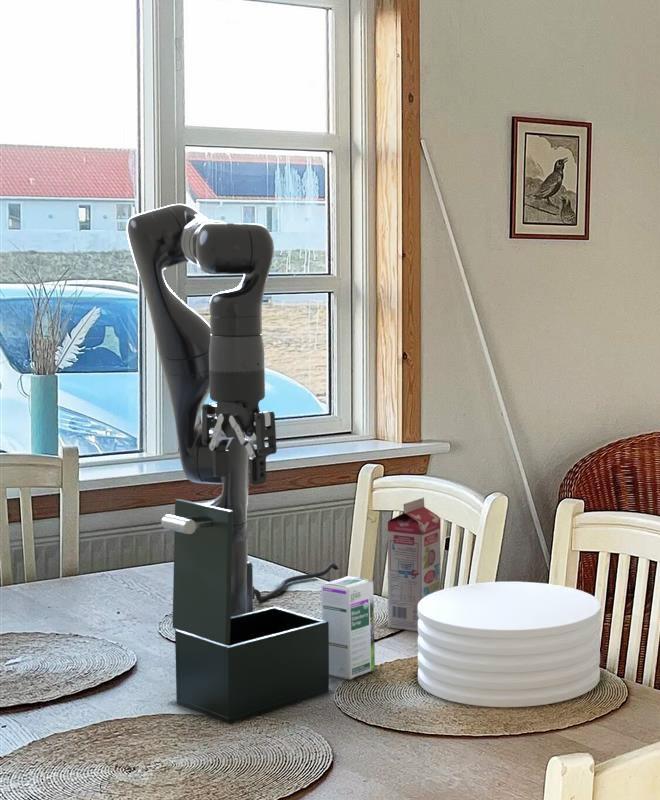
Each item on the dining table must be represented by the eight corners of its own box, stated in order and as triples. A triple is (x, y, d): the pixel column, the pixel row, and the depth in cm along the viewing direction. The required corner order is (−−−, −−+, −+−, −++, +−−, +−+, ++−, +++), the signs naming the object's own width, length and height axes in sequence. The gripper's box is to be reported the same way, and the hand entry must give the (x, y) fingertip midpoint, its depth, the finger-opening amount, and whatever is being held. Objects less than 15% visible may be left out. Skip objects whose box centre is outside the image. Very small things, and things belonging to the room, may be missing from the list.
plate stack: (623, 661, 218) (624, 591, 216) (561, 717, 191) (562, 638, 190) (464, 642, 227) (465, 575, 226) (385, 693, 201) (384, 617, 199)
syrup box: (350, 680, 206) (349, 587, 205) (321, 673, 209) (320, 581, 208) (375, 670, 211) (375, 579, 209) (347, 664, 214) (346, 574, 212)
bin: (276, 674, 208) (275, 606, 207) (329, 692, 201) (328, 621, 199) (176, 703, 195) (174, 630, 194) (229, 723, 187) (227, 647, 186)
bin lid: (179, 498, 192) (146, 502, 188) (233, 510, 185) (200, 514, 180) (177, 626, 194) (144, 632, 190) (230, 644, 186) (196, 650, 182)
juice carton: (387, 627, 235) (387, 502, 233) (407, 617, 241) (407, 495, 239) (421, 631, 233) (421, 505, 230) (440, 621, 239) (440, 499, 236)
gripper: (290, 368, 189) (292, 483, 191) (229, 361, 198) (231, 470, 200) (245, 372, 183) (247, 490, 185) (184, 364, 192) (187, 477, 194)
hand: (239, 480), depth 192 cm, fingers open, 8 cm apart
